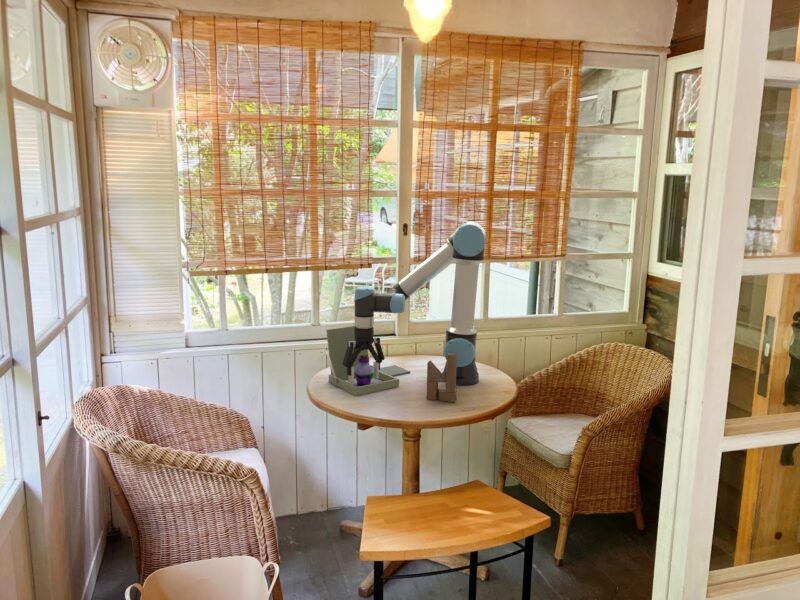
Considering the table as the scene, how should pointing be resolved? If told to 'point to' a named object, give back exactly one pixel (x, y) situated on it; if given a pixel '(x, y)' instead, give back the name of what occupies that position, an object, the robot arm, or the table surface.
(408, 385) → the table surface
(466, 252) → the robot arm
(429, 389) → the wooden block
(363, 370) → the potion bottle
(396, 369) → the pad
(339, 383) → the case
